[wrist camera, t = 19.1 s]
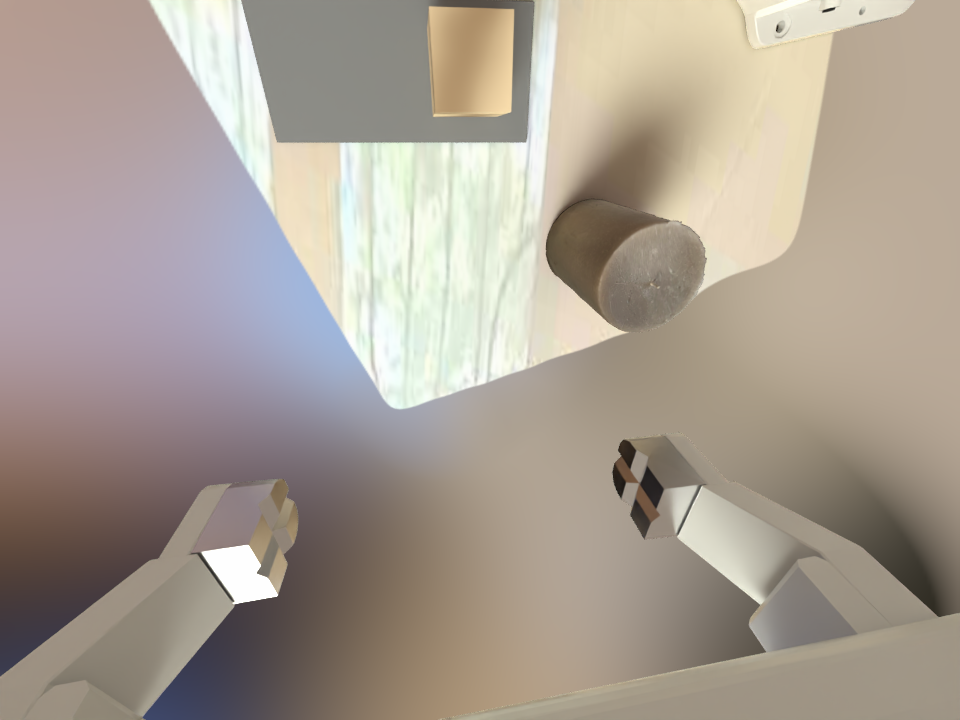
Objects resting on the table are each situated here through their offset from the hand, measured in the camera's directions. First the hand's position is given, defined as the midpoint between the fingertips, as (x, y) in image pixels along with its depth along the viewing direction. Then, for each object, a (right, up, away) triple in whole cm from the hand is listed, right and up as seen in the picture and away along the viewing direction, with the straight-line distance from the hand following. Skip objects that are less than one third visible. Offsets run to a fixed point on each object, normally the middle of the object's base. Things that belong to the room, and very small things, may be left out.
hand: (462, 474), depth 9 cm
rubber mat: (-6, +28, +22) cm, 36 cm away
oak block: (0, +25, +18) cm, 31 cm away
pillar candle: (+13, +16, +33) cm, 39 cm away
